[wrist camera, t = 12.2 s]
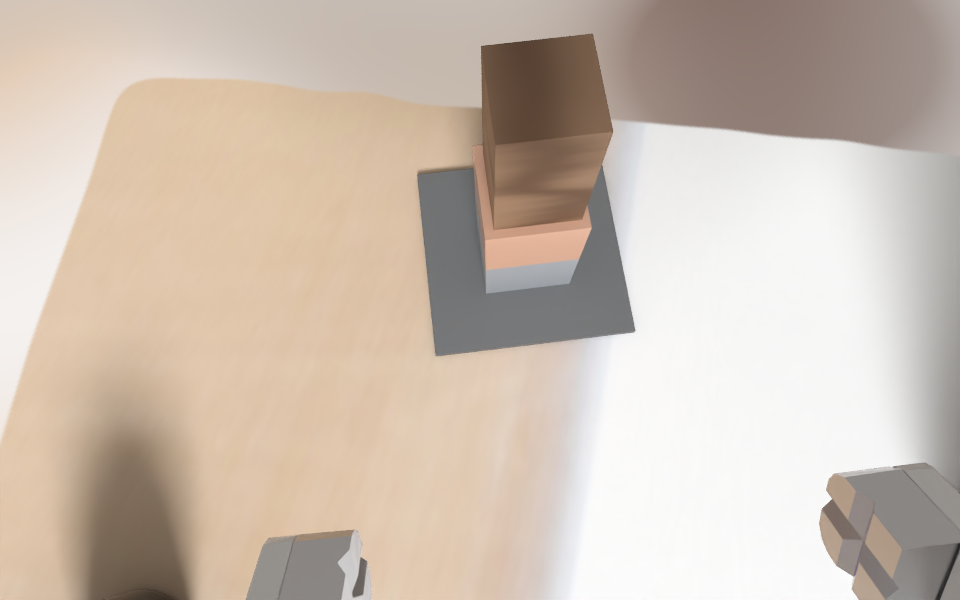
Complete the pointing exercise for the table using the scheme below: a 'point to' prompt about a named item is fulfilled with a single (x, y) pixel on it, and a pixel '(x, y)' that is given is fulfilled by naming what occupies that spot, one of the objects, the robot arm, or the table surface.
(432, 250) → the rubber mat
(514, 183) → the walnut post
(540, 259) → the tower top
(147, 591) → the supplement bottle
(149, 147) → the table surface
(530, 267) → the tower bottom
